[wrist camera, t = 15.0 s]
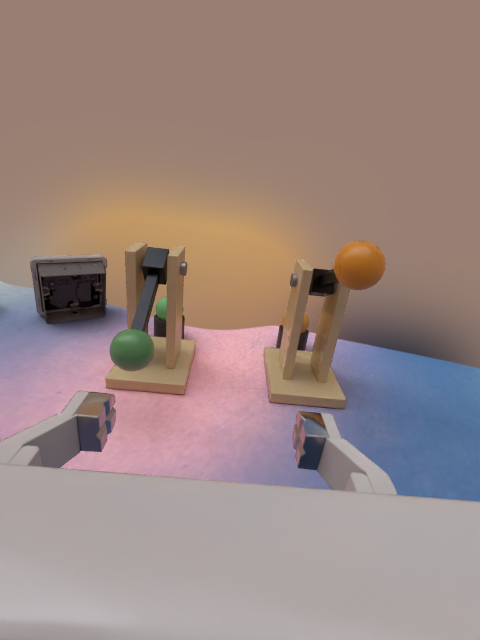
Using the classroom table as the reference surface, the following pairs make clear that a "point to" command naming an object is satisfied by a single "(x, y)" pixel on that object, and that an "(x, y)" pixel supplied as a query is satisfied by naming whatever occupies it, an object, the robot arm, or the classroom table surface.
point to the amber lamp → (302, 335)
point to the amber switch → (350, 269)
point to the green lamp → (163, 319)
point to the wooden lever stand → (170, 352)
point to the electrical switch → (69, 286)
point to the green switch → (141, 316)
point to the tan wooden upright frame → (305, 366)
